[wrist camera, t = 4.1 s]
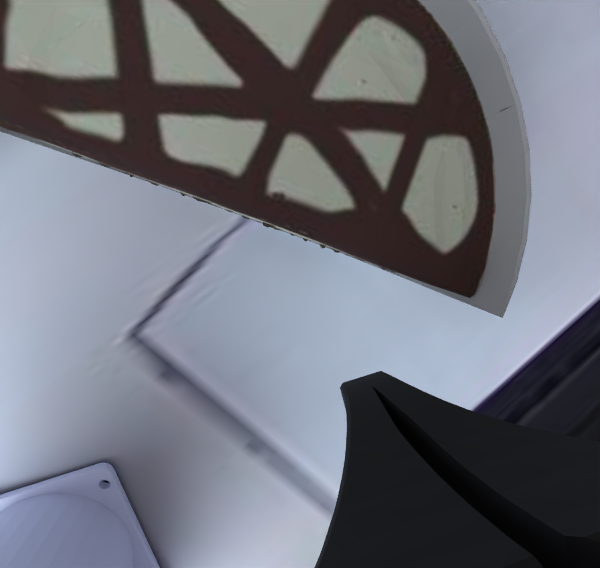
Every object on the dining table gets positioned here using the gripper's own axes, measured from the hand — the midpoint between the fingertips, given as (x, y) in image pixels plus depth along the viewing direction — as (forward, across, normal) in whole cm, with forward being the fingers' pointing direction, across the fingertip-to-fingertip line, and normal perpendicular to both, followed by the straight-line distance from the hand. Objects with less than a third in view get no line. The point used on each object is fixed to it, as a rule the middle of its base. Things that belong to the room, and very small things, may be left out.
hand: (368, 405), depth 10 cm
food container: (+8, 0, -9) cm, 11 cm away
